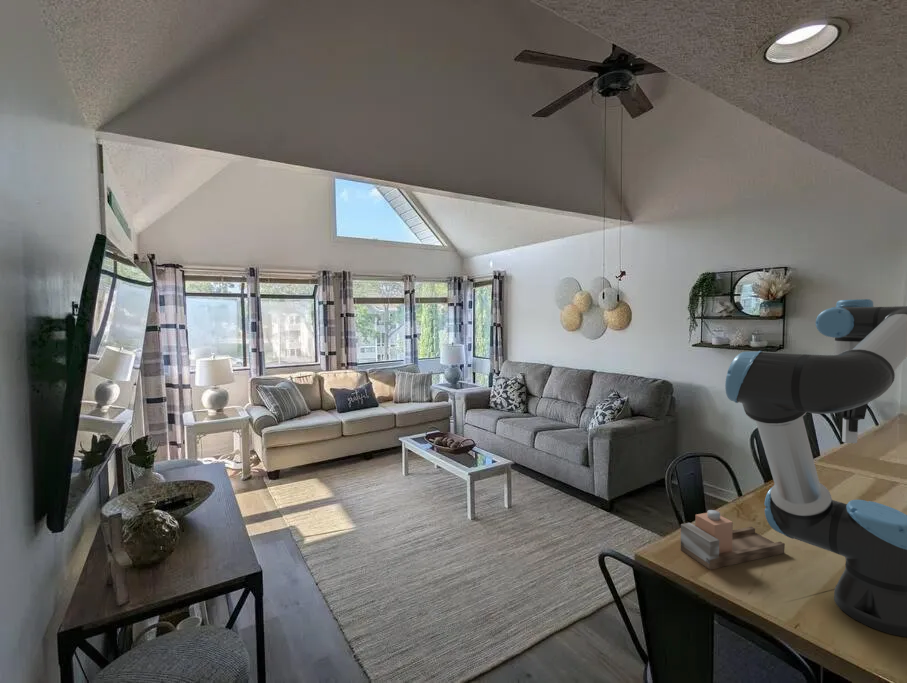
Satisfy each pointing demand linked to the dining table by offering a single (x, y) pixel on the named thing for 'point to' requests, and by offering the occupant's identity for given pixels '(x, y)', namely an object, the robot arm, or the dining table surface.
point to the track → (743, 546)
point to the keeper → (716, 528)
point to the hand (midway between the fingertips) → (849, 442)
